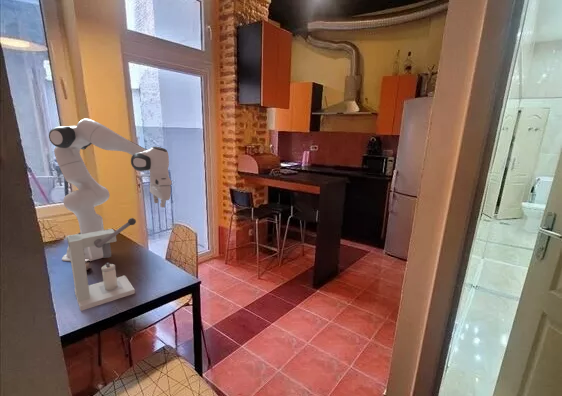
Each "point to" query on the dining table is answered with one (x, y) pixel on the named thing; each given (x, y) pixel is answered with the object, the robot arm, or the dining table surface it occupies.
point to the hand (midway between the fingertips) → (159, 204)
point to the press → (83, 291)
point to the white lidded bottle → (109, 276)
